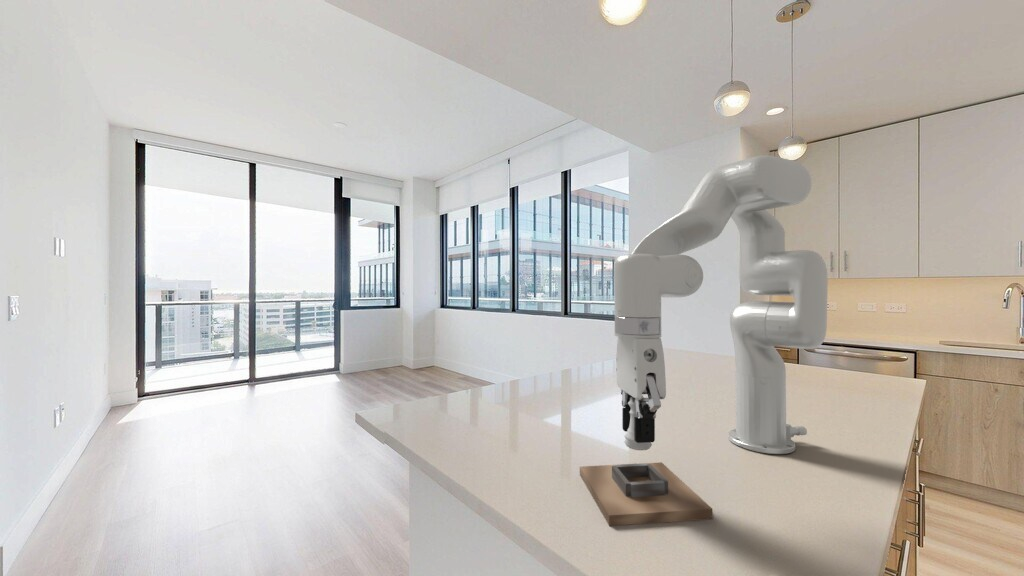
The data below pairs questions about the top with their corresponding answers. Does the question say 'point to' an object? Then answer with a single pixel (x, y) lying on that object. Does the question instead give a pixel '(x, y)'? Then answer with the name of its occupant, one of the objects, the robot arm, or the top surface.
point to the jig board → (642, 494)
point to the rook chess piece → (630, 432)
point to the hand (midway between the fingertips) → (637, 434)
